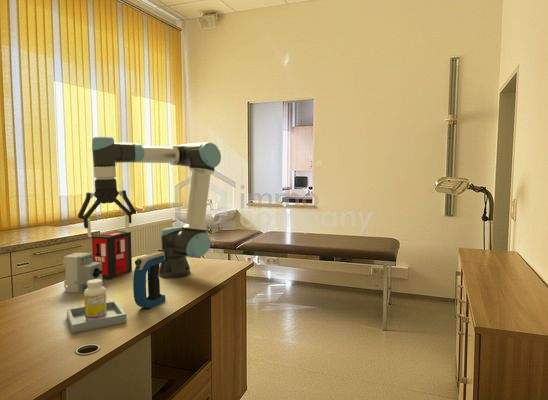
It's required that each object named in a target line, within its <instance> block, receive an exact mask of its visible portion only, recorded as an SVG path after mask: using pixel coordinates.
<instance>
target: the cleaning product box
mask: <svg viewBox="0 0 548 400" xmlns="http://www.w3.org/2000/svg"><path fill="white" fill-rule="evenodd" d="M91 243H92V244H91V246H92V247H91V249H92V256H93V262H102V280H106V281H107V280H108V281H110V280H112V279H115V278H118V277H120V276H122V275H125V274H127V273H130V272H132V271H133V262H132V258H133V257H132V232H131V231H130V232H128V233H127V232H126V230H125V231H123V230H121V231H120V230H119V231H118V230H115V231H110V232H106V233H100V234H97V235H91Z"/></svg>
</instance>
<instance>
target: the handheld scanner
mask: <svg viewBox="0 0 548 400" xmlns="http://www.w3.org/2000/svg"><path fill="white" fill-rule="evenodd" d="M167 261H168V256H167V250H162V249H157V252H156V251H155V252H153V253H150V254H146V255H144V256H140V257H137V258H136V260H135V261H134V264H135V268H134V271H133V278H132V283H133V284H132V286H133V287H132V290H133V299H134V302H135V304H136V305H137V306H138V307H139V308H145V309H146V308H147V309H153V308H154V307H156V306H158V305H160V304H162V303H164V302H165V301H166V294H161V284H160V283H161V282H160V281H161V280H160V276H159V267H160V263H162V262H167Z"/></svg>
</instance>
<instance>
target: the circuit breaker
mask: <svg viewBox="0 0 548 400" xmlns="http://www.w3.org/2000/svg"><path fill="white" fill-rule="evenodd" d="M62 263H63V265H62V267H65V280H64V281H63V283H64V286H63V288H64V293H65V292H68V293H79V294H80V293H81V294H82V293H84V292H85V290H86V289H87V288H88V286H87V281H89V280H93V279H102V262H93V252H89V253H88V252H74V253H73V252H72V253H71V254H67V255H63V261H62ZM102 280H103V279H102Z"/></svg>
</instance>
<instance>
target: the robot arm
mask: <svg viewBox="0 0 548 400" xmlns="http://www.w3.org/2000/svg"><path fill="white" fill-rule="evenodd" d="M91 151H92V163H93V176H94V192H86V193H85V199H84V201H83V203H82V205H81V208H80V209H79V212H78V214H77V218H78V219H81V220H83V227H84V229H87V231H86V232H87V237H88V238H92V227H91V225H92V224H91V219H90V217H91V215H92V214H93V213H94V212H95V210H96V209H97V208H98V207H99V205H101V204H102V205H103V204H104V205H105V204H112V203H115V205H117V207H118V208H120V209H121V210H122V211H123V212H124V214H126V215H124V225H125V229H124V230H125V232H127V233H128V232H131V231H130V224H132V215H134V214H136V213H137V210H136V209H135V207H134V206H133V203H132V202H131V201H130V199H129V197H128V196H127V195H128V194H127V191H126V190H124V189H122V190H118V184H117V171H116V170H117V169H116V163H117V164H122V163H127V164H128V163H131V164H133V163H134V164H135V163H137V164H138V163H140V164H141V163H143V164H145V163H146V164H148V163H150V164H170V165H171V166H182V167H188V168H189V171H190V172H191V179H190V187H189V195H188V203H187V211H186V219H185V223H184V224H183V225H182V226H173V227H166V228H163V229H162V230H161V233H160V234H161V235H160V238H161V240H160V241H161V243H160V245H161V250H167V256H168V261H167V262H162V263H160V265H159V277H162V278H169V279H171V278H181V277H185V276H188V275H190V274H191V267H190V264H189V260H188V258H187V257H190V258H195V259H196V258H202V257H204V256H206V254H207V253H208V252H209V250H210V247H211V242H212V241H211V238H210V235H208V233H207V231H208V229H207V227H206V225H205V222H206V212H207V207H208V206H207V205H208V198H209V190H210V184H211V183H210V182H211V175H213V174H214V173H215V168H216V167H218V166H219V165H220V163H221V161H222V155H221V151H220V149H219V147H218V146H217V145H216V144H215V143H213V142H209V141H203V142H190V143H184V144H171V145H169V146H157V145H156V146H155V145H154V146H152V145H151V146H150V145H143V144H141V143H136V142H115V139H114V137H112V136H95V137H93V138H92V139H91ZM118 196H120V197H122V199H123V200H124V202H125V204H126V205H127V207H128V208H127V207H125V205H123V203H121V201H119V199H118V198H117V197H118ZM93 197H95V198H96V200H94V203H93V204H92V205H91V206H90V207H89V209H88V210H87V208H88V205H89V203H90V202H91V199H92V198H93ZM86 210H87V211H86ZM85 212H86V213H85Z"/></svg>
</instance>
